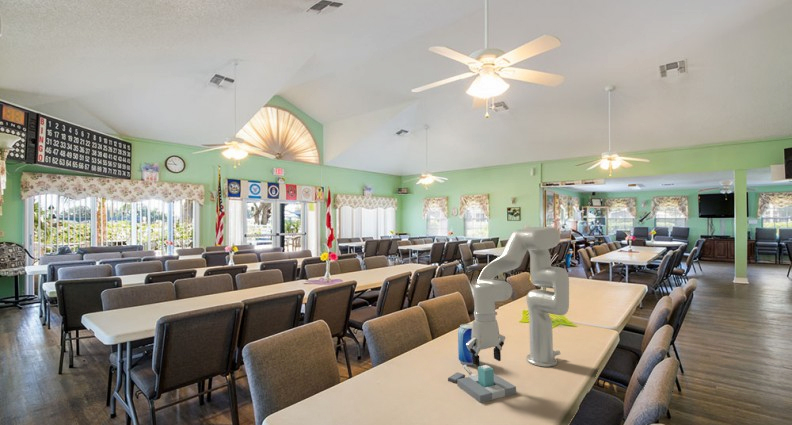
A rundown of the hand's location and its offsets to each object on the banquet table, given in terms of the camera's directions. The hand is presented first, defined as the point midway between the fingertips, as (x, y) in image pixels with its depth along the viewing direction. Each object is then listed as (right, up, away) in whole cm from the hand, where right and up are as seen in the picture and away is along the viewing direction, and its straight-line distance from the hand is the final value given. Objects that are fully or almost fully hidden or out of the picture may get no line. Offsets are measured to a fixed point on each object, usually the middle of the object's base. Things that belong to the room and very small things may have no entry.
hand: (486, 362), depth 132 cm
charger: (0, -10, -1) cm, 10 cm away
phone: (-10, -10, +8) cm, 16 cm away
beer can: (-2, -11, +25) cm, 27 cm away
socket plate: (-1, -10, -1) cm, 10 cm away
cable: (-4, -10, +14) cm, 18 cm away
